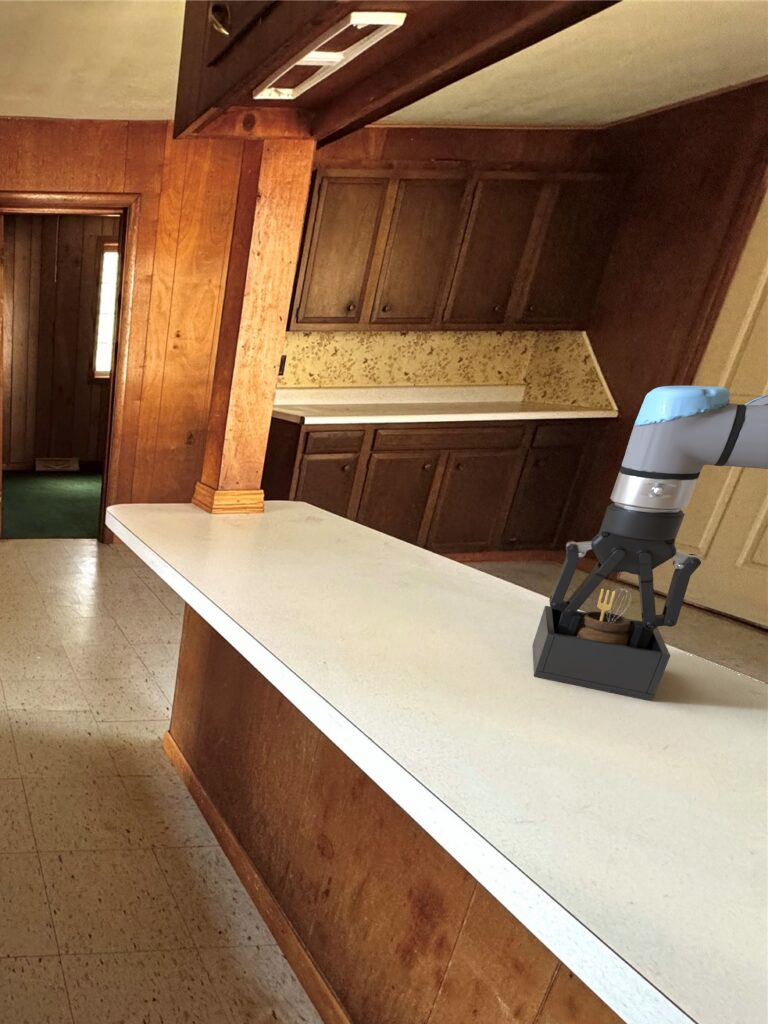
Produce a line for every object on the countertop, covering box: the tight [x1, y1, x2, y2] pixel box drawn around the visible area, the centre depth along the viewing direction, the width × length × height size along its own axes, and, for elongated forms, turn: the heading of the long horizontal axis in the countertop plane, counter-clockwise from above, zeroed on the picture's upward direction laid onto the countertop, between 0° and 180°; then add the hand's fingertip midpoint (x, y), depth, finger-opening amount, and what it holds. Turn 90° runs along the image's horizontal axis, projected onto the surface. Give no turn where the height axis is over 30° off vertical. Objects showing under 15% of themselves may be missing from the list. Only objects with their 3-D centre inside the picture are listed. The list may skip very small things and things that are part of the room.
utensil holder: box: [574, 588, 633, 646], centre depth 95 cm, size 6×6×12 cm
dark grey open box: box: [532, 605, 671, 702], centre depth 97 cm, size 13×13×7 cm
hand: (592, 659), depth 97 cm, fingers closed on utensil holder, 6 cm apart
